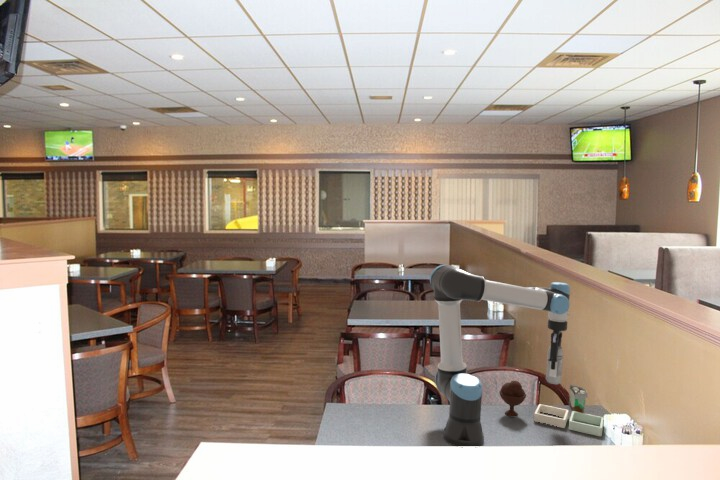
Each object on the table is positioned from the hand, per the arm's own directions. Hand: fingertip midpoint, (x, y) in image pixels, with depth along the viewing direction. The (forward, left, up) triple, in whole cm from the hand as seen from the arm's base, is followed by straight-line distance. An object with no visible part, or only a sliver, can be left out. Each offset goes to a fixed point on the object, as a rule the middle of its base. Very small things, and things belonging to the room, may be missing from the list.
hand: (553, 374), depth 214 cm
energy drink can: (0, 0, -4) cm, 4 cm away
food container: (+1, +18, -20) cm, 27 cm away
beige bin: (0, 0, -20) cm, 20 cm away
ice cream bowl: (-12, -10, -20) cm, 25 cm away
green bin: (+12, +6, -20) cm, 24 cm away
